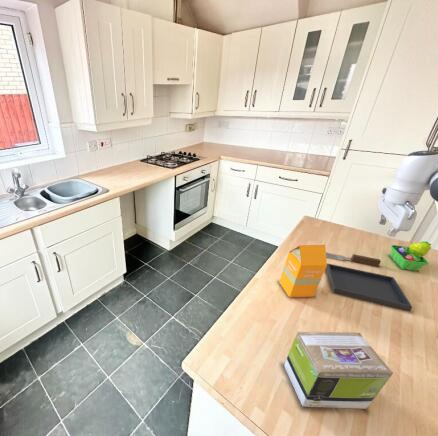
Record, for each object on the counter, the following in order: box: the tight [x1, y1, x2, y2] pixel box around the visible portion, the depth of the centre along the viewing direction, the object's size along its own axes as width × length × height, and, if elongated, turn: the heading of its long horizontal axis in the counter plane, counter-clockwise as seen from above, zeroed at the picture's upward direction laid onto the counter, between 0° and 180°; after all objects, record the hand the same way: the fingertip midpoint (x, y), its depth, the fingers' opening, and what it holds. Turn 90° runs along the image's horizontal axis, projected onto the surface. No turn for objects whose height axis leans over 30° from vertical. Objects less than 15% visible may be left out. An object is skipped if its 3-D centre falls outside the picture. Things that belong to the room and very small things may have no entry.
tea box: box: [283, 331, 394, 410], centre depth 58 cm, size 15×10×15 cm, turn 88°
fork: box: [326, 252, 382, 267], centre depth 103 cm, size 18×3×3 cm, turn 66°
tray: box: [325, 262, 413, 312], centre depth 90 cm, size 21×15×2 cm
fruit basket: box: [389, 240, 432, 272], centre depth 99 cm, size 11×9×11 cm
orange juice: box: [279, 244, 328, 298], centre depth 85 cm, size 8×9×20 cm
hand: (385, 229), depth 94 cm, fingers open, 8 cm apart
